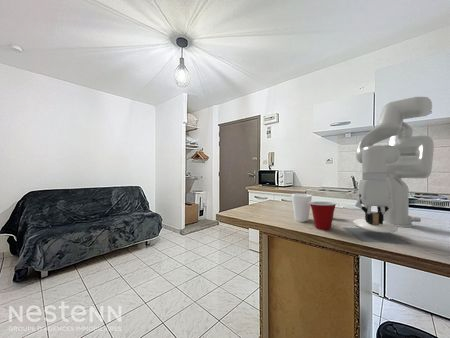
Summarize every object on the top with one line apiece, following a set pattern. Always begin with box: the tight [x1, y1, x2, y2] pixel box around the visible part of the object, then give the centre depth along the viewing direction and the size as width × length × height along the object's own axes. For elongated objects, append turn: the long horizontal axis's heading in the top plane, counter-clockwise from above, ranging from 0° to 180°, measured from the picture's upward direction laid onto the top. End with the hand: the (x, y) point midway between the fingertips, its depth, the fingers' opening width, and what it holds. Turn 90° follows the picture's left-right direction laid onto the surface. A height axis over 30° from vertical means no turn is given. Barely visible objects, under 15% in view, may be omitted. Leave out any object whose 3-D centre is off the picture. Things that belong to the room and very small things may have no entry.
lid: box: [352, 211, 399, 233], centre depth 77 cm, size 14×14×5 cm
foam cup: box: [291, 193, 313, 223], centre depth 99 cm, size 10×9×13 cm
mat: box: [342, 226, 412, 245], centre depth 77 cm, size 16×16×1 cm
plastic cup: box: [309, 201, 338, 231], centre depth 85 cm, size 11×11×12 cm
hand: (374, 222), depth 77 cm, fingers closed on lid, 3 cm apart
